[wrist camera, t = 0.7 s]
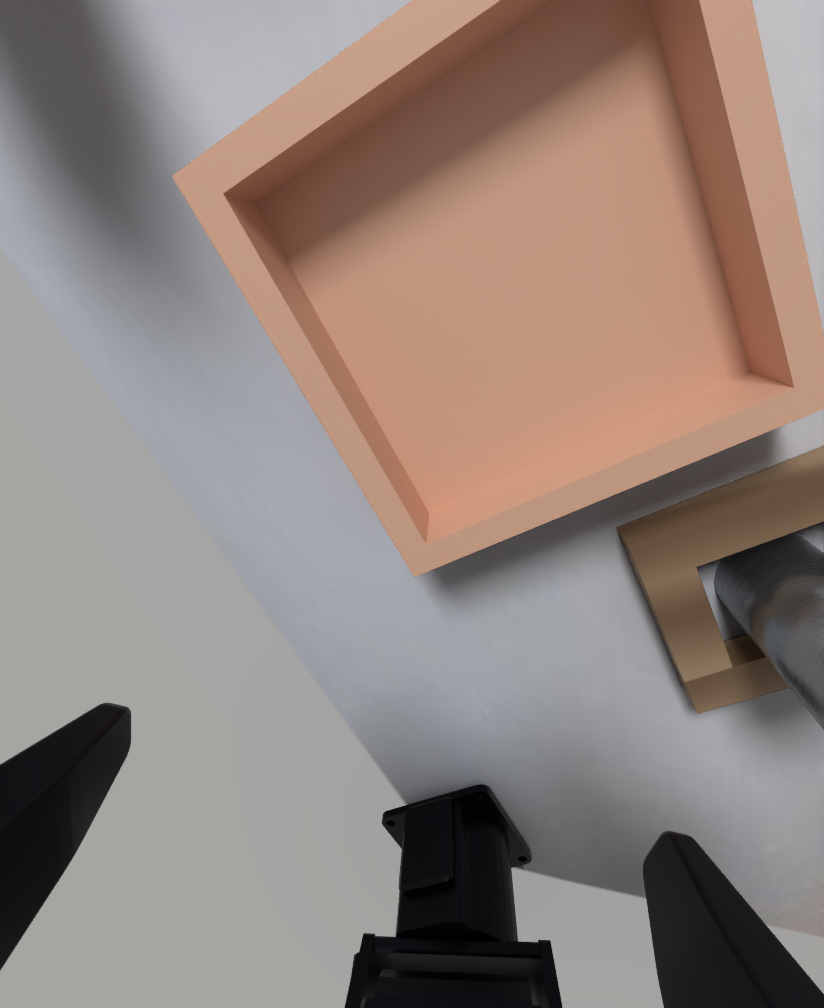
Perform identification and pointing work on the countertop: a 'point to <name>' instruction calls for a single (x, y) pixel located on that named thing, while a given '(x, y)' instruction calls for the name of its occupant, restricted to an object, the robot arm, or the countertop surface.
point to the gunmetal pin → (781, 609)
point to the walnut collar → (708, 537)
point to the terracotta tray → (524, 255)
